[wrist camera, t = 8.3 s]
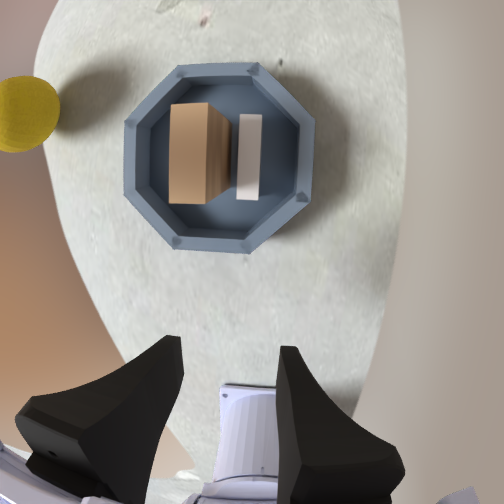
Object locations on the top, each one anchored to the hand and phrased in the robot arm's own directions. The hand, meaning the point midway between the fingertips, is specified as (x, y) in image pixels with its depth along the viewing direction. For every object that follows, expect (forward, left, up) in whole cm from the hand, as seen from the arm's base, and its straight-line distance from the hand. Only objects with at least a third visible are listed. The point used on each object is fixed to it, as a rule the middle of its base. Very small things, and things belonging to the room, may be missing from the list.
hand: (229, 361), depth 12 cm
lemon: (+12, +16, -10) cm, 22 cm away
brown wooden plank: (+8, +2, -9) cm, 12 cm away
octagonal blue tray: (+8, +2, -9) cm, 13 cm away
